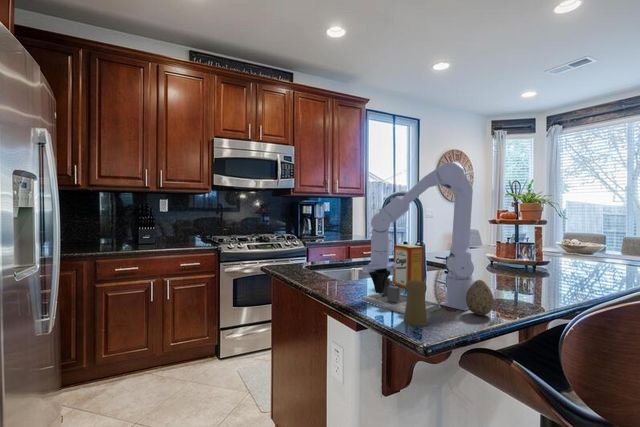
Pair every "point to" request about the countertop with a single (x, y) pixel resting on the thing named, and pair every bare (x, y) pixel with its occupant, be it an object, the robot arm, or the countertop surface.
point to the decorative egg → (479, 298)
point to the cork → (415, 303)
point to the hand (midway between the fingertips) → (379, 292)
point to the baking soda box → (407, 264)
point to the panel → (396, 303)
